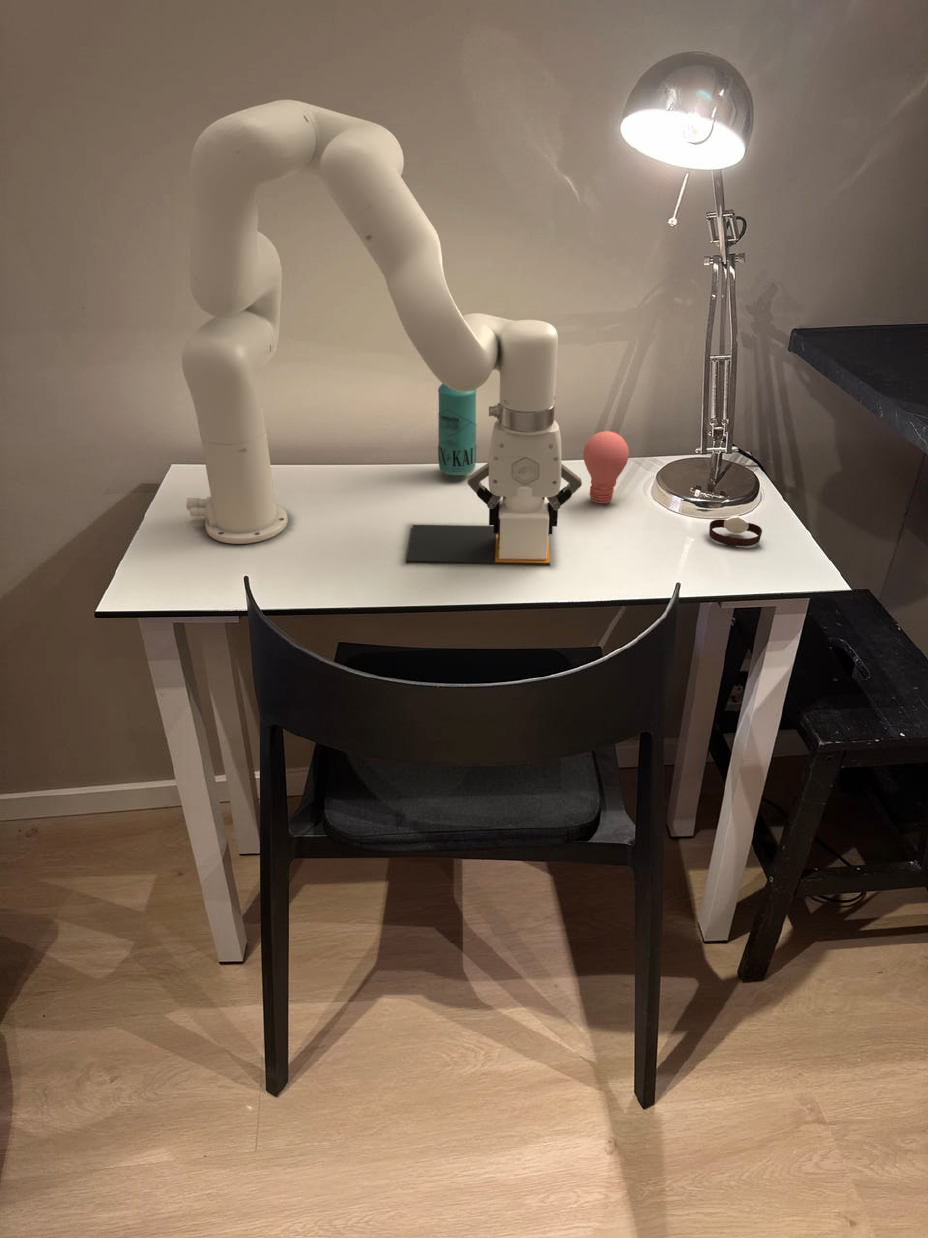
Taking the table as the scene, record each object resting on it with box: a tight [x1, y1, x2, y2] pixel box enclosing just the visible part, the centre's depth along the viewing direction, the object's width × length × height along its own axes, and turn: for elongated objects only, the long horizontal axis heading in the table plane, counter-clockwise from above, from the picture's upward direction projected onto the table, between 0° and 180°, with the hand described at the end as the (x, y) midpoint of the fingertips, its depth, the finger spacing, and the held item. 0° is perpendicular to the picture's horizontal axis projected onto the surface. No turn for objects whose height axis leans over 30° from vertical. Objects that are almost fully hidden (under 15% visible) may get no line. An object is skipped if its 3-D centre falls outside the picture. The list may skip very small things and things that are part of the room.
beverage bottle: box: [437, 383, 478, 476], centre depth 158 cm, size 6×7×20 cm
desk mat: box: [405, 524, 551, 566], centre depth 144 cm, size 21×11×1 cm, turn 87°
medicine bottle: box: [498, 487, 549, 560], centre depth 139 cm, size 7×7×12 cm
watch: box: [708, 515, 763, 547], centre depth 144 cm, size 8×5×4 cm, turn 72°
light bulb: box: [582, 430, 630, 504], centre depth 152 cm, size 7×7×12 cm
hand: (522, 528), depth 140 cm, fingers closed on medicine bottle, 7 cm apart
